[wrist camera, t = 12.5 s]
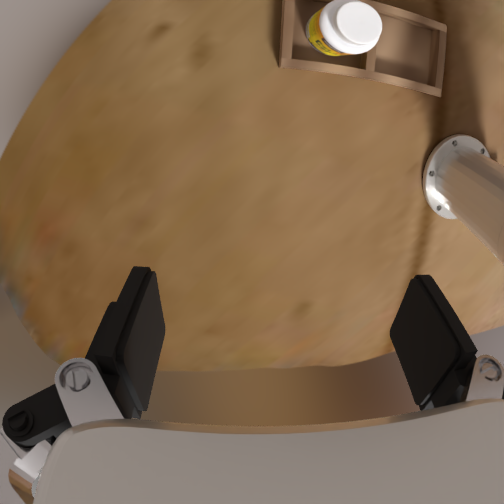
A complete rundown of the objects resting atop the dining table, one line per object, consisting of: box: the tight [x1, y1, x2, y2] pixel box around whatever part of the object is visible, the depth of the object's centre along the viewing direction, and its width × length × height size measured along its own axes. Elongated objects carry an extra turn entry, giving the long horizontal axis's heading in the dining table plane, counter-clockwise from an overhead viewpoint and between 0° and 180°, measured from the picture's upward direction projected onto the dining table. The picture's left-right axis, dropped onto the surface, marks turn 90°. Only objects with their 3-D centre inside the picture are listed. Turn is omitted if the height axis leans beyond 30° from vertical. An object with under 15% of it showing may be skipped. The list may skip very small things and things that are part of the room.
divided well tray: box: [279, 0, 447, 97], centre depth 27 cm, size 19×10×3 cm, turn 87°
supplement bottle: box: [306, 0, 382, 56], centre depth 23 cm, size 6×6×10 cm
